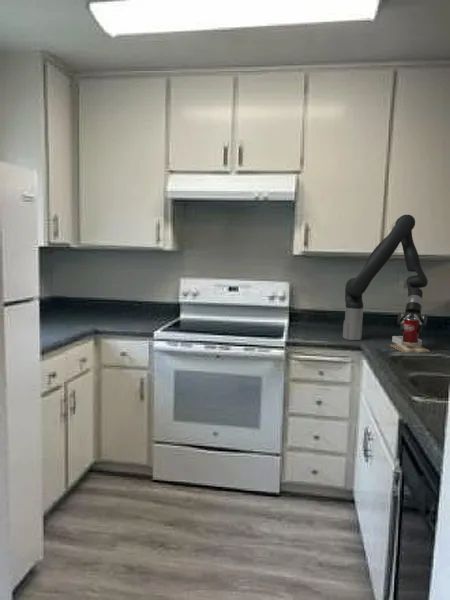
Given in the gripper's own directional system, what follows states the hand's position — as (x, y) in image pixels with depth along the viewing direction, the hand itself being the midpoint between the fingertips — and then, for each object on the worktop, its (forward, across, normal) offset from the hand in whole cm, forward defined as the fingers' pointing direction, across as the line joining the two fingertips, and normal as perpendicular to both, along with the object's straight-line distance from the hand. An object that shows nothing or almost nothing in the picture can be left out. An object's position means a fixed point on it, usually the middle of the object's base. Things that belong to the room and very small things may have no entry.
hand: (410, 331), depth 243 cm
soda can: (+3, 0, +5) cm, 6 cm away
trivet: (+6, 0, +7) cm, 9 cm away
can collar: (-4, -3, +18) cm, 18 cm away
